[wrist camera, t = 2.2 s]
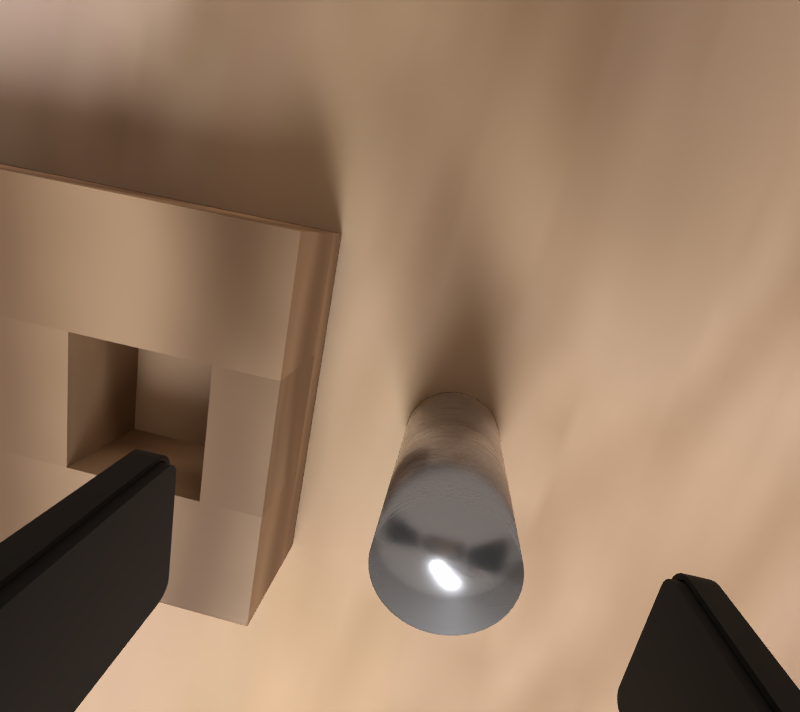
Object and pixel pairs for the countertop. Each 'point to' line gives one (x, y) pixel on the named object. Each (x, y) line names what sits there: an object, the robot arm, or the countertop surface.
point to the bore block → (162, 367)
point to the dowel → (448, 523)
